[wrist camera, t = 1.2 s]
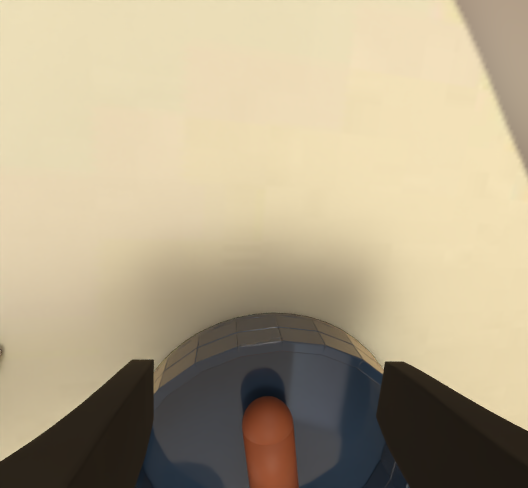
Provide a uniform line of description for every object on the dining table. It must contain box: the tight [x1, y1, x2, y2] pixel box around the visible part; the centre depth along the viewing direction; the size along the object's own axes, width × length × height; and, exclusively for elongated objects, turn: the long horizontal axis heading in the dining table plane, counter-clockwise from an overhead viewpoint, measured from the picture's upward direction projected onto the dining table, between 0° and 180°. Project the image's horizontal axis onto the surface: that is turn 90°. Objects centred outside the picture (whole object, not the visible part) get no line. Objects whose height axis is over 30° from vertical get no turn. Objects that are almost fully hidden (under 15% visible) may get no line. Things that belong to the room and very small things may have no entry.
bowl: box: [135, 313, 410, 488], centre depth 20 cm, size 17×17×4 cm
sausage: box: [242, 396, 299, 488], centre depth 20 cm, size 8×3×3 cm, turn 5°
